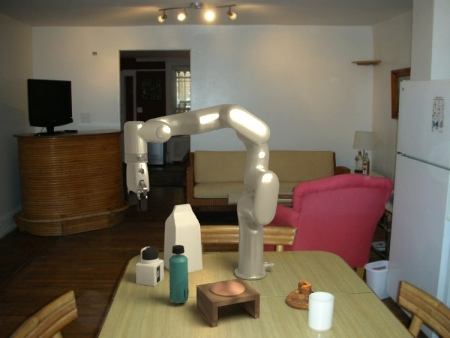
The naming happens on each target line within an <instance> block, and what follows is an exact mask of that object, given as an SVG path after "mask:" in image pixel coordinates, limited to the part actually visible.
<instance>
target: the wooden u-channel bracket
mask: <svg viewBox="0 0 450 338" xmlns="http://www.w3.org/2000/svg"><path fill="white" fill-rule="evenodd" d="M195 286H196V287H195V288H196V289H195V290H196V292H195V293H196V294H195V295H196V296H195V297H196V301H195V302H196V304H195V305H196V306H195V307H196V308H195V309H196V310H197V312H198V313H200V315H201V316H202V317H203V319H205V320H206V322H207V323H208V324H209V325H210V326H211V327H212V328H216V327H218V317H219V316H218V312H219V311H218V309H219V308H218V307H223V306H229V305H233V304H234V305H235V304H238V305H240V306H241V308H243V309H244V310H245V311H246V312H247V313H248V314H249V315H250V316H251V317H252V318H254V319H255V320H256V319H260V317H261V316H260V314H261V313H260V311H261V310H260V309H261V306H260V304H261V293H260V292H258V291H257V290H256V289H254V287H252V286H251V284H248V283H247V282H246V280H245V279H242V278H239V277H237V278H232V279H227V280H221V281H216V282H210V283H209V282H208V283H204V284H203V283H201V284H198V285H197V284H196V285H195Z"/></svg>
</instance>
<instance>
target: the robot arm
mask: <svg viewBox="0 0 450 338" xmlns="http://www.w3.org/2000/svg"><path fill="white" fill-rule="evenodd" d="M227 128H228V129H232V130H233V131H235V133H236V137H237V138H238V139H239V140H240V141H241V142H242V144H243V145H244V147H245V150H246V161H245V169H244V174H243V175H244V177H243V184H244V186H245V188H246V189H247V190H249V191H251V192H253V193H254V194H252V193H247V194H244V195H242V196H241V197H240V198H239V199H238V201H237V205H236V212H237V219H238V264H237V265H238V266H237V268H235V269H234V276H235V277H237V278H241V279H242V280H246V281H247V280H248V281H255V280H256V281H257V280H261V279H264V278H265V277H266V276H268V275H267V273H268V272H267V269H269V268H270V269H271V268H275V263H274V262H268V261H264V233H265V231H264V226H267V225H269V224H271V222H273V220H274V219H275V215H276V213H277V206H278V200H279V199H278V198H279V193H280V181H279V178H278V175H277V174H276V173H275V172H274V171H272V170H270V169H269V162H270V149H269V145H268V141H269V140H270V138H271V129H270V127H269V125H268V124H267V123H266V122H264V120H262V119H260V117H257V116H256V115H254V114H253V113H252V112H250V111H249V110H247V109H246V108H244V107H242V106H241V105H239V104H232V103H224V104H218V105H213V106H208V107H204V108H199V109H194V110H189V111H184V112H181V113H176V114H175V113H174V114H170V115H165V116H160V117H156V118H151V119H148V120H146V121H145V122H144V121H140V120H138V121H137V120H133V121H126V122H125V123H124V126H123V136H124V139H123V141H124V163H125V164H126V186H127V205H128V206H135V205H137V206H136V207H137V212H146V211H147V210H148V193H149V191H150V182H149V180H150V179H149V171H148V169H149V168H148V164H147V163H149V162H148V159H149V158H148V143H153V144H154V143H155V144H163V143H166V142H168V141H169V140H170V138H171V137H172V136H181V135H182V136H183V135H187V136H188V135H189V136H192V135H194V136H195V135H200V134H206V133H210V132H213V131H218V130H222V129H227Z"/></svg>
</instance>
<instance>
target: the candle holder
mask: <svg viewBox="0 0 450 338" xmlns="http://www.w3.org/2000/svg"><path fill="white" fill-rule="evenodd" d="M297 287H298V288H297V289H294V290H292V291H291V292H289V293H288V294H287V296H286V298H285V301H286V302H285V303H286V304H287V305H288V306H289V305H290V306H289V307H291V308H293V309H296V308H297V309H296V310H300V309H305V310H304V311H307V310H306V309H308V299H309V295H310V294H311V293H314V290H312V284H311V282H310V281H305V280H304V281H303V280H301V281H299V282H298V283H297Z"/></svg>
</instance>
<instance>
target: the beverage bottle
mask: <svg viewBox="0 0 450 338" xmlns="http://www.w3.org/2000/svg"><path fill="white" fill-rule="evenodd" d="M184 252H185V251H184V246H182V245H175V246H173V247H172V253H173V254H175V255H173V256H172V257H171V258H170V259H169V270H168V272H169V275H168V278H169V279H168V282H169V290H168V291H169V300H170V302H172V303H175V304H181V303H186V302H187V301H188V300H189V296H190V295H189V292H190V291H189V289H190V288H189V272H188V258H187V257H186V256H185V255H182V254H183V253H184Z"/></svg>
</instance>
